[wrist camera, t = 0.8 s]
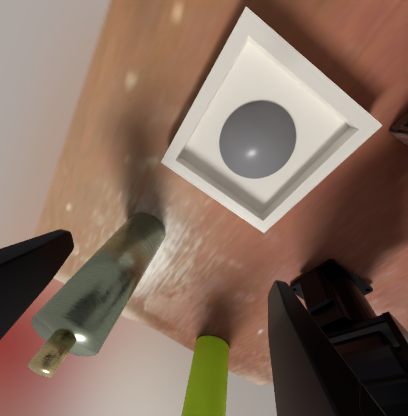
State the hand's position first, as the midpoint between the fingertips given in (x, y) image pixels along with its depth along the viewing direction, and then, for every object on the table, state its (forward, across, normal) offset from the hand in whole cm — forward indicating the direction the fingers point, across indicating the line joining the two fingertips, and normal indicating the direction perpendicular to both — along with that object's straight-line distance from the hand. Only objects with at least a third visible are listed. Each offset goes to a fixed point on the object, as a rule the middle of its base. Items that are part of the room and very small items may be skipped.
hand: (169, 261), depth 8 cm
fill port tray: (+13, -4, -3) cm, 14 cm away
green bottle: (+13, +7, +10) cm, 17 cm away
